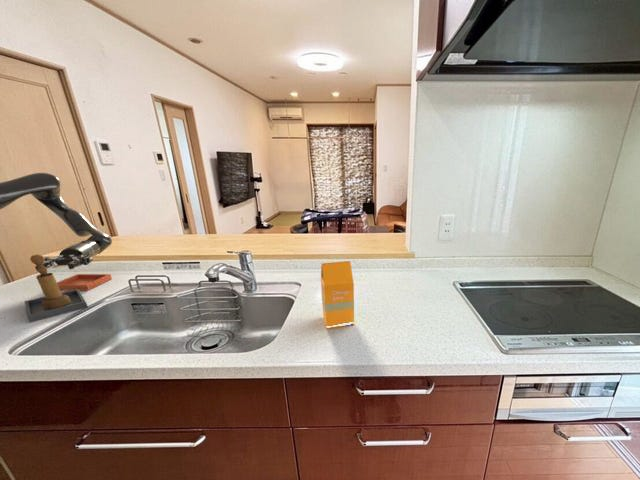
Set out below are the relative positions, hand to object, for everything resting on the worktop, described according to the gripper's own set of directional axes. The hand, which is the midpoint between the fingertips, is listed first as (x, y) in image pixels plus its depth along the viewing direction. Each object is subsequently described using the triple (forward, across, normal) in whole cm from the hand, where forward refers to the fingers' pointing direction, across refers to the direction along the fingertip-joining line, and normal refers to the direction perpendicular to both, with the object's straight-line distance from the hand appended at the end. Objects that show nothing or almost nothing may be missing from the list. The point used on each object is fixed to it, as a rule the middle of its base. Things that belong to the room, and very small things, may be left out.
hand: (54, 267), depth 102 cm
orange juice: (+47, +89, +12) cm, 101 cm away
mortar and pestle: (+6, 0, +12) cm, 13 cm away
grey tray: (+6, 0, +12) cm, 14 cm away
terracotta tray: (-15, -1, +12) cm, 19 cm away
